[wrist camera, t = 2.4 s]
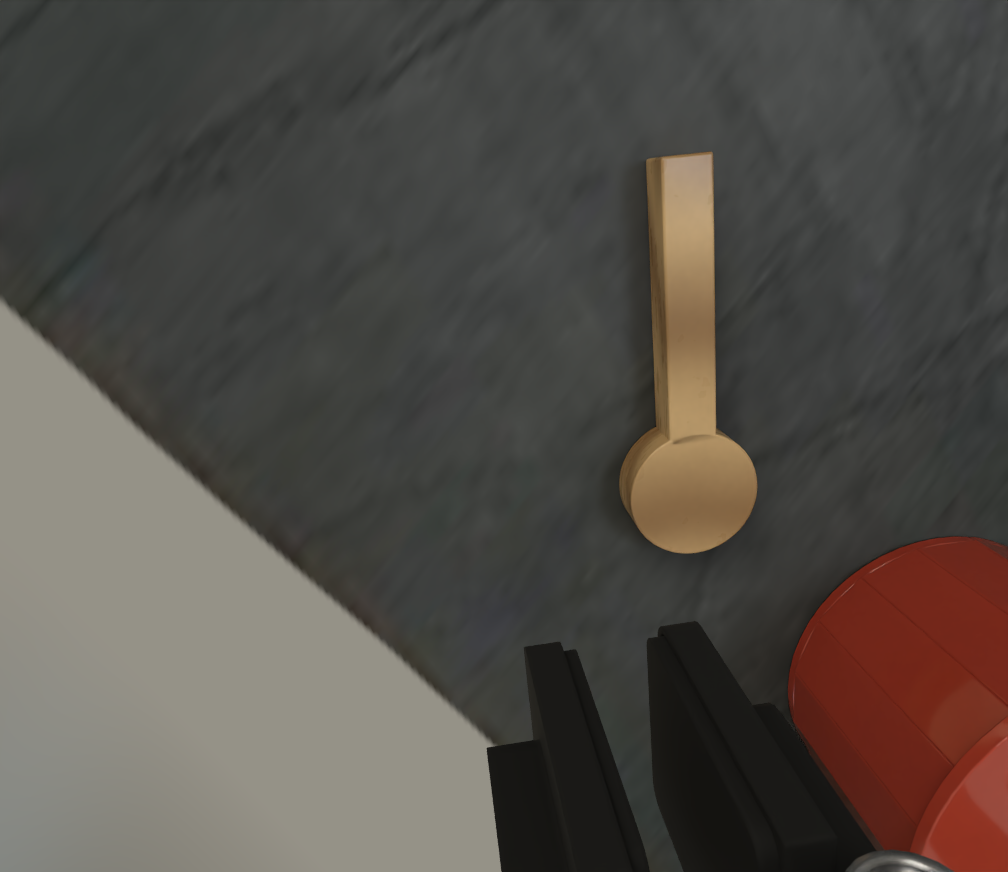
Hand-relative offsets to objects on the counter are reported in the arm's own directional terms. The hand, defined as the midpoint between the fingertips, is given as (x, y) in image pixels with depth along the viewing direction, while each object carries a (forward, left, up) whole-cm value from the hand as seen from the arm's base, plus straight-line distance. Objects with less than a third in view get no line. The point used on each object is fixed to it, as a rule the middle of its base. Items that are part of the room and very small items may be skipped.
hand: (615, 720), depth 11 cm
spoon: (0, +6, -15) cm, 16 cm away
